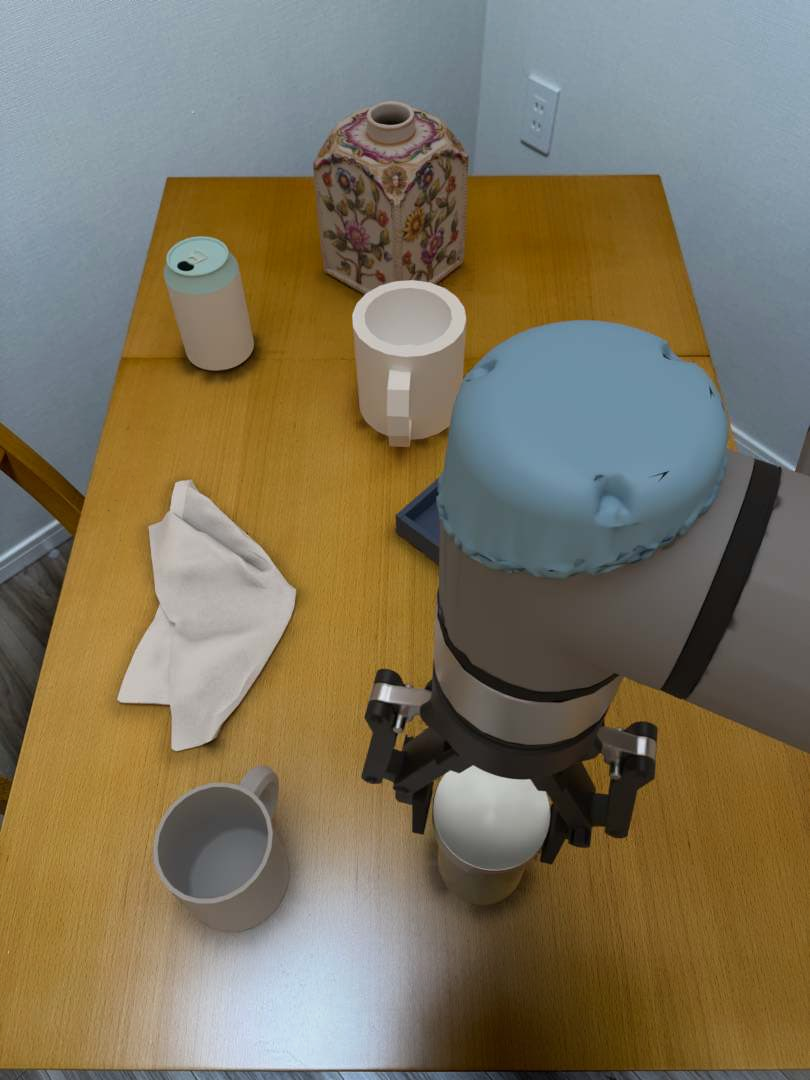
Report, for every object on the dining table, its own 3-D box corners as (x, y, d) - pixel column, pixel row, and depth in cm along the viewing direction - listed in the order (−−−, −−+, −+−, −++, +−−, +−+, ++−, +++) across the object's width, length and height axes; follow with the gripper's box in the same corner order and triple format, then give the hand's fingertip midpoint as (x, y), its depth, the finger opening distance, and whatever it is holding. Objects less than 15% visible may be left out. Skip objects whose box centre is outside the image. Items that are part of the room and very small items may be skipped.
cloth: (283, 751, 64) (279, 739, 62) (101, 752, 64) (91, 740, 63) (306, 481, 79) (303, 465, 77) (158, 482, 79) (152, 467, 78)
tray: (592, 538, 75) (597, 521, 73) (512, 620, 71) (514, 604, 68) (477, 461, 80) (478, 442, 78) (395, 532, 76) (395, 515, 74)
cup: (165, 908, 58) (129, 874, 51) (236, 775, 63) (213, 727, 56) (260, 952, 56) (236, 924, 49) (325, 811, 62) (312, 767, 54)
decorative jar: (466, 264, 97) (475, 108, 82) (399, 317, 92) (396, 160, 77) (387, 224, 102) (382, 68, 87) (319, 272, 97) (302, 116, 82)
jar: (541, 857, 60) (561, 809, 51) (486, 924, 57) (498, 886, 49) (475, 799, 62) (484, 744, 54) (419, 862, 60) (420, 815, 51)
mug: (458, 469, 80) (463, 387, 71) (349, 464, 80) (341, 382, 72) (463, 367, 88) (468, 282, 79) (363, 363, 88) (358, 278, 79)
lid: (571, 816, 52) (576, 806, 51) (498, 906, 49) (501, 898, 48) (482, 741, 55) (484, 729, 53) (408, 822, 52) (408, 812, 51)
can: (250, 375, 87) (229, 279, 78) (182, 375, 88) (152, 278, 78) (258, 328, 91) (239, 231, 82) (193, 328, 92) (166, 231, 82)
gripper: (779, 630, 36) (651, 804, 54) (313, 542, 38) (345, 737, 57) (783, 806, 31) (643, 928, 50) (259, 693, 34) (313, 850, 53)
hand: (485, 826), depth 54 cm, fingers open, 7 cm apart
